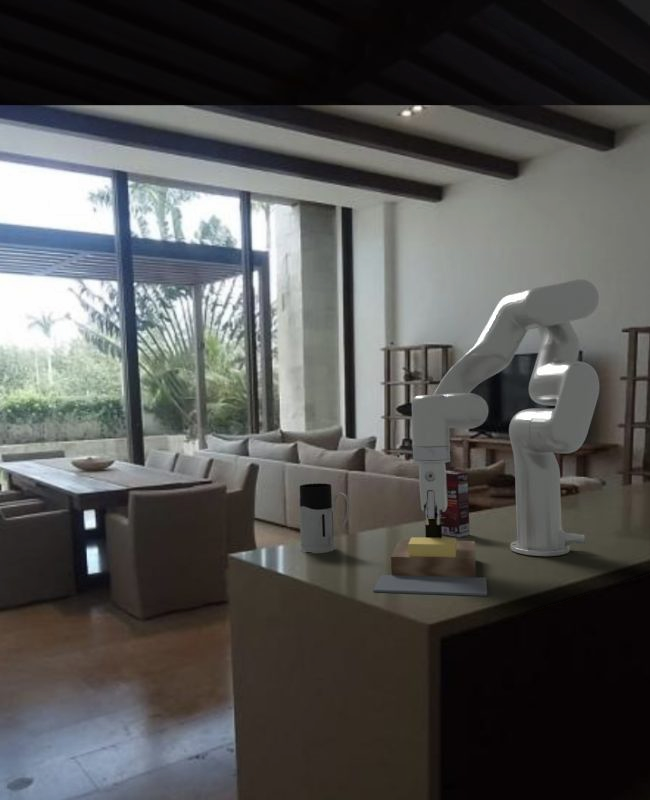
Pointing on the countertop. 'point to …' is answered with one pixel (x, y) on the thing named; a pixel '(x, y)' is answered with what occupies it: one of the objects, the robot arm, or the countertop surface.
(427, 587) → the mat
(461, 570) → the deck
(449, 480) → the supplement box
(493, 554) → the countertop surface
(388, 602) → the countertop surface
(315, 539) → the glass holder
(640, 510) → the countertop surface
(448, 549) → the yellow block
